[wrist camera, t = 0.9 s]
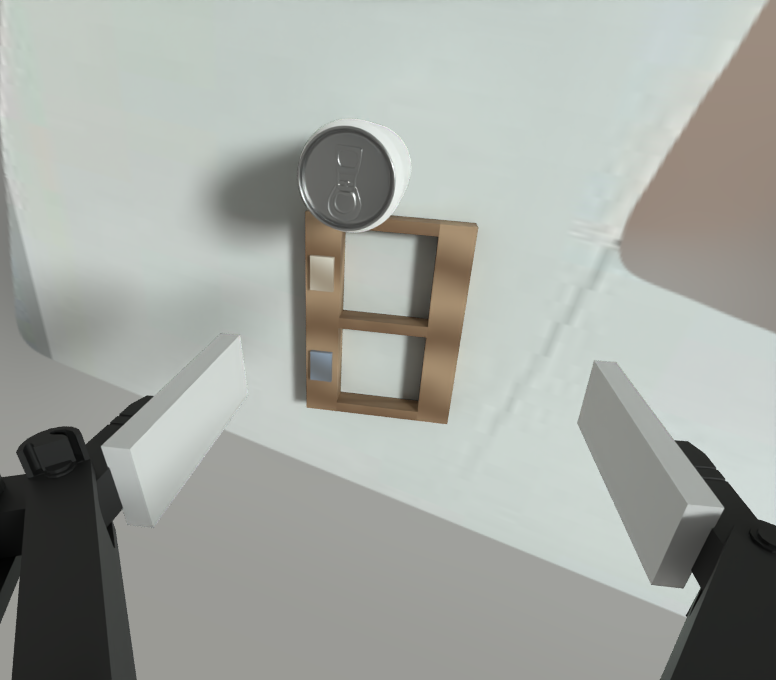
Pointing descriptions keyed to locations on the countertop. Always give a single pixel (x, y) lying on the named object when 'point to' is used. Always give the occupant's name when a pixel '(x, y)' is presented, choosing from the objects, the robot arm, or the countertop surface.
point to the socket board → (386, 319)
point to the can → (353, 174)
